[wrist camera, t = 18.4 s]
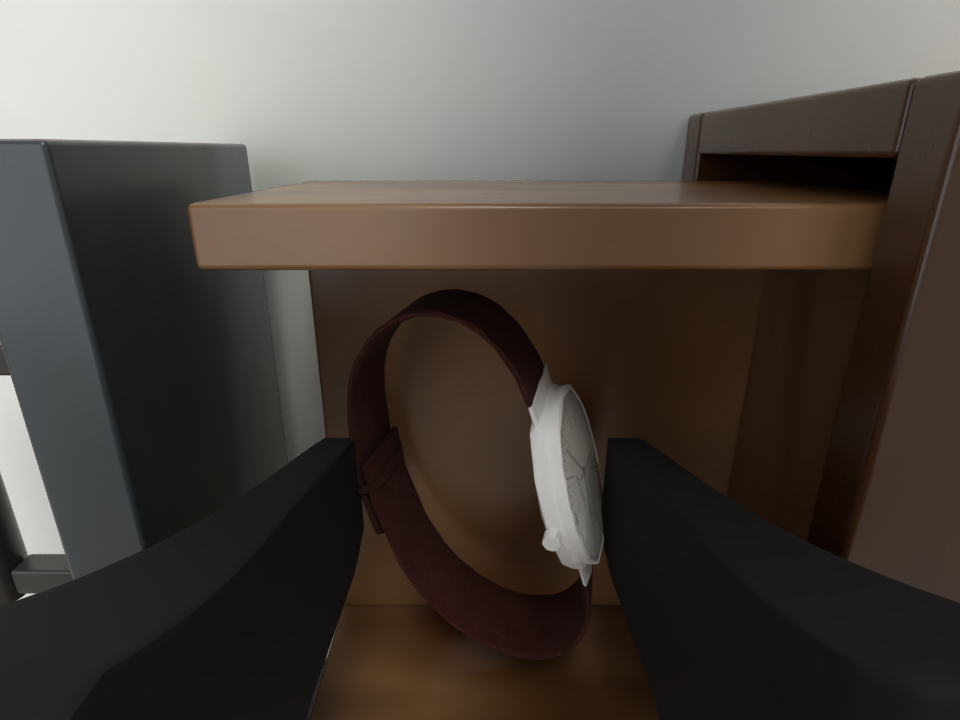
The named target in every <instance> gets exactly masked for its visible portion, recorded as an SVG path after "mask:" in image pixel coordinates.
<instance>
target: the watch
mask: <svg viewBox="0 0 960 720" xmlns="http://www.w3.org/2000/svg"><path fill="white" fill-rule="evenodd" d="M434 316H435V317H439V318H443V319H447V320H451V321H455V322H459V323H461V324H462V325H464V326H466V327H467V328H469V329H470V330H472V331H473V332H475V333H477V334H478V335H480V336H481V337H482V338H483V339H484V340H485V341H486V342H487V343H489V344H490V345H491V346H492V347H493V348H494V349H495V350H496V352H497V353H498V354H499V356H500V357H501V359H502V360H503V362H504V363H505V364H506V366H507V367H508V369H509V370H510V372H511V373H512V375H513V376H514V377H515V379H516V382H517V384H518V386H519V389H520V391H521V394H522V396H523V398H524V401H525V403H526V406H527V408H528V410H529V412H530V415H531V419H532V421H531V429H530V441H531V451H532V461H533V471H534V480H535V486H536V491H537V496H538V502H539V507H540V512H541V517H542V520H543V522H544V525H545V528H546V531H545V533H544V537H543V541H542V545H543V546H544V547H545V549H546V550H549V551H556V553H557V555H558V557H559V559H560V561H561V563H562V564H563V565H565V566H567V567H570V568H572V569H579V573H580V576H579V578H578V580H577V581H575V582H574V583H573V584H572V585H571V586H569V587H568V588H567V589H566V590H564V591H562V592H559V593H555V594H546V595H530V594H525V593H519V592H516V591H513V590H510V589H508V588H505V587H502V586H500V585H498V584H496V583H494V582H492V581H491V580H489V579H487V578H486V577H484V576H482V575H480V574H479V573H477V572H476V571H475V570H474V569H472V568H471V567H470V566H469V565H468V564H466V563H465V562H464V561H463V560H461V559H460V558H459V557H458V556H457V555H456V554H455V553H454V552H453V550H452V549H451V548H450V547H449V546H448V545H447V544H446V542H445V541H444V539H443V538H442V537H441V535H440V534H439V532H438V531H437V529H436V528H435V526H434V525H433V524H432V522H431V521H430V519H429V517H428V515H427V514H426V512H425V510H424V507H423V505H422V503H421V500H420V498H419V496H418V493H417V491H416V489H415V486H414V484H413V481H412V479H411V477H410V474H409V472H408V470H407V467H406V463H405V457H404V453H403V449H402V442H401V441H400V436H399V432H398V428H397V427H396V426H392V429H391V427H390V421H389V414H388V407H387V401H386V394H385V361H386V355H387V349H388V346H389V344H390V341H391V338H392V336H393V335H394V333H395V332H396V330H397V329H398V327H399V326H400V324H401V323H402V322H404V321H406V320H409V319H412V318H415V317H434ZM347 424H348V432H349V440H350V441H353V440H354V442H355V451H356V463H357V474H358V484H359V487H358V489H359V495H360V494H361V497H362V500H363V502H364V505H365V508H366V511H367V513H368V516H369V519H370V522H371V524H372V527H373V529H374V531H375V532H376V534H377V535H379V534H383V533H385V535H386V537H387V540H388V542H389V544H390V546H391V549H392V551H393V553H394V555H395V557H396V559H397V562H398V564H399V565H400V567H401V568H402V570H403V572H404V573H405V575H406V576H407V578H408V579H409V581H410V582H411V583H412V585H413V586H414V587H415V588H416V589H417V591H418V592H419V593H420V594H421V596H422V597H423V598H424V599H425V601H426V602H427V603H428V604H429V605H430V607H432V608H433V609H434V610H435V611H436V612H437V613H438V614H439V615H441V616H442V617H443V618H444V619H445V620H446V621H447V622H448V623H450V624H451V625H452V626H453V627H454V628H456V629H457V630H459V631H460V632H462V633H464V634H465V635H467V636H469V637H470V638H472V639H473V640H475V641H477V642H478V643H480V644H482V645H484V646H486V647H488V648H491V649H493V650H496V651H498V652H501V653H503V654H506V655H509V656H514V657H519V658H524V659H531V660H542V659H551V658H555V657H557V656H560V655H562V654H564V653H566V652H568V651H570V650H572V649H573V648H574V647H575V646H576V645H577V644H578V643H580V641H581V640H582V638H583V636H584V635H585V632H586V630H587V627H588V623H589V620H590V617H591V604H592V581H593V564H598V563H599V561H600V557H601V552H602V548H603V542H604V534H603V521H602V511H601V510H602V498H603V492H602V484H601V476H600V470H599V464H598V458H597V452H596V447H595V443H594V439H593V436H592V432H591V428H590V424H589V420H588V417H587V414H586V411H585V408H584V406H583V404H582V402H581V400H580V398H579V396H578V395H577V393H576V392H575V391H574V389H573V388H572V387H571V385H569V384H566V385H562V386H558V385H557V384H555V383H552V381H551V379H550V375H549V371H548V367H547V364H546V365H543V362H542V360H541V358H540V356H539V354H538V352H537V350H536V348H535V347H534V345H533V344H532V342H531V340H530V339H529V337H528V336H527V334H526V333H525V331H524V330H523V329H522V327H521V326H520V325H519V323H518V322H517V321H516V320H515V319H514V318H513V317H512V316H511V315H510V314H509V313H508V312H507V311H506V310H505V309H504V308H502V307H501V306H500V305H499V304H497V303H496V302H494V301H492V300H491V299H489V298H487V297H485V296H483V295H480V294H478V293H475V292H470V291H464V290H459V289H447V290H439V291H436V292H432V293H429V294H425V295H423V296H422V297H420V298H418V299H417V300H415V301H413V302H412V303H411V304H410V305H409V306H407V307H406V308H405V309H403V310H402V311H400V312H399V313H398V314H396V315H395V316H394V317H392V318H391V319H390V320H389V321H387V322H386V323H384V324H383V325H381V326H380V327H378V328H377V329H376V330H375V331H374V332H373V333H372V334H371V335H370V337H369V338H368V339H367V340H366V342H365V343H364V345H363V346H362V348H361V350H360V352H359V353H358V355H357V357H356V358H355V360H354V362H353V365H352V368H351V371H350V375H349V381H348V387H347Z"/></svg>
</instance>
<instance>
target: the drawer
mask: <svg viewBox="0 0 960 720" xmlns="http://www.w3.org/2000/svg"><path fill="white" fill-rule="evenodd" d="M889 191H890V190H888V189H877V188H867V187H857V186H847V185H836V184H826V183H816V182H806V181H308V182H303V183H299V184H293V185H288V186H282V187H277V188H272V189H266V190H261V191H255V192H252V187H251V180H250V172H249V165H248V157H247V150H246V146H245V145H243V144H219V143H178V142H138V141H97V140H56V139H0V375H11V378H12V381H13V384H14V388H15V391H16V394H17V397H18V401H19V404H20V407H21V410H22V414H23V417H24V420H25V424H26V427H27V430H28V433H29V437H30V440H31V443H32V446H33V450H34V453H35V456H36V460H37V463H38V466H39V469H40V473H41V476H42V479H43V482H44V486H45V489H46V492H47V496H48V499H49V502H50V505H51V509H52V512H53V515H54V518H55V522H56V525H57V528H58V532H59V535H60V538H61V541H62V545H63V548H64V551H65V554H31V555H29V556H28V554H27V551H26V548H25V545H24V542H23V539H22V536H21V533H20V530H19V527H18V524H17V521H16V518H15V515H14V512H13V509H12V506H11V503H10V500H9V497H8V494H7V491H6V488H5V485H4V482H3V479H2V476H1V473H0V606H3V605H6V604H9V603H11V602H14V601H16V600H18V599H19V598H21V597H22V596H24V595H25V594H26V593H40V592H43V591H46V590H48V589H51V588H54V587H56V586H59V585H62V584H64V583H67V582H70V581H72V580H75V579H77V578H80V577H82V576H85V575H87V574H90V573H92V572H94V571H97V570H99V569H101V568H104V567H106V566H108V565H110V564H113V563H115V562H117V561H120V560H122V559H124V558H126V557H129V556H131V555H133V554H135V553H138V552H140V551H142V550H145V549H147V548H149V547H151V546H153V545H155V544H157V543H159V542H161V541H163V540H165V539H167V538H169V537H171V536H173V535H175V534H177V533H179V532H180V531H182V530H184V529H186V528H188V527H190V526H192V525H194V524H195V523H197V522H199V521H201V520H203V519H204V518H206V517H208V516H209V515H211V514H213V513H215V512H216V511H218V510H219V509H221V508H222V507H224V506H226V505H227V504H229V503H230V502H232V501H233V500H235V499H237V498H238V497H240V496H241V495H243V494H244V493H246V492H247V491H249V490H251V489H252V488H254V487H255V486H257V485H258V484H260V483H261V482H263V481H264V480H265V479H267V478H268V477H270V476H271V475H273V474H274V473H275V472H277V471H278V470H280V469H281V468H282V467H284V466H285V465H287V464H288V459H287V451H286V444H285V436H284V429H283V421H282V414H281V406H280V399H279V391H278V383H277V376H276V368H275V361H274V353H273V346H272V338H271V331H270V323H269V316H268V308H267V301H266V293H265V285H264V278H263V270H309V280H310V289H311V299H312V308H313V318H314V327H315V337H316V346H317V356H318V366H319V375H320V385H321V394H322V404H323V413H324V423H325V433H326V438H349V432H348V424H347V387H348V381H349V375H350V371H351V368H352V365H353V362H354V360H355V358H356V357H357V355H358V353H359V352H360V350H361V348H362V346H363V345H364V343H365V342H366V340H367V339H368V338H369V337H370V335H371V334H372V333H373V332H374V331H375V330H376V329H377V328H378V327H380V326H381V325H383V324H384V323H386V322H387V321H389V320H390V319H391V318H392V317H394V316H395V315H396V314H398V313H399V312H400V311H402V310H403V309H405V308H406V307H407V306H409V305H410V304H411V303H412V302H413V301H415V300H417V299H418V298H420V297H422V296H423V295H425V294H429V293H432V292H436V291H439V290H447V289H459V290H464V291H470V292H475V293H478V294H480V295H483V296H485V297H487V298H489V299H491V300H492V301H494V302H496V303H497V304H499V305H500V306H501V307H502V308H504V309H505V310H506V311H507V312H508V313H509V314H510V315H511V316H512V317H513V318H514V319H515V320H516V321H517V322H518V323H519V325H520V326H521V327H522V329H523V330H524V331H525V333H526V334H527V336H528V337H529V339H530V340H531V342H532V344H533V345H534V347H535V348H536V350H537V352H538V354H539V356H540V358H541V360H542V362H543V365H546V364H547V367H548V371H549V375H550V379H551V381H552V383H555V384H557V385H558V386H562V385H566V384H569V385H571V387H572V388H573V389H574V391H575V392H576V393H577V395H578V396H579V398H580V400H581V402H582V404H583V406H584V408H585V411H586V414H587V417H588V420H589V424H590V428H591V432H592V436H593V439H594V443H595V447H596V452H597V458H598V464H599V470H600V476H601V484H602V492H603V487H604V475H605V464H606V452H607V441H608V438H640V439H642V440H644V441H646V442H647V443H649V444H650V445H652V446H653V447H655V448H656V449H658V450H659V451H661V452H662V453H663V454H665V455H666V456H668V457H669V458H670V459H672V460H673V461H675V462H676V463H678V464H679V465H680V466H682V467H683V468H685V469H686V470H687V471H689V472H690V473H692V474H693V475H695V476H696V477H698V478H699V479H700V480H702V481H703V482H705V483H706V484H708V485H709V486H711V487H712V488H714V489H715V490H717V491H718V492H720V493H722V494H723V495H725V496H726V497H728V498H729V499H731V500H733V501H734V502H736V503H738V504H739V505H741V506H743V507H744V508H746V509H748V510H749V511H751V512H753V513H754V514H756V515H757V516H759V517H761V518H763V519H765V520H766V521H768V522H770V523H772V524H774V525H775V526H777V527H779V528H781V529H783V530H785V531H787V532H789V533H791V534H793V535H795V536H797V537H799V538H801V539H803V540H805V541H806V539H807V535H808V531H809V527H810V523H811V518H812V514H813V510H814V506H815V502H816V497H817V493H818V489H819V485H820V481H821V476H822V472H823V468H824V464H825V460H826V455H827V451H828V447H829V443H830V439H831V434H832V430H833V426H834V422H835V418H836V413H837V409H838V405H839V401H840V397H841V392H842V388H843V384H844V380H845V376H846V371H847V367H848V363H849V359H850V355H851V350H852V346H853V342H854V338H855V334H856V329H857V325H858V321H859V317H860V313H861V308H862V304H863V300H864V296H865V292H866V287H867V283H868V279H869V275H870V271H871V266H872V262H873V258H874V254H875V250H876V245H877V241H878V237H879V233H880V229H881V224H882V220H883V216H884V212H885V208H886V203H887V199H888V195H889ZM385 394H386V401H387V407H388V414H389V421H390V427H391V429H392V426H396V427H397V428H398V432H399V436H400V441H401V442H402V449H403V453H404V457H405V463H406V467H407V470H408V472H409V474H410V477H411V479H412V481H413V484H414V486H415V489H416V491H417V493H418V496H419V498H420V500H421V503H422V505H423V507H424V510H425V512H426V514H427V515H428V517H429V519H430V521H431V522H432V524H433V525H434V526H435V528H436V529H437V531H438V532H439V534H440V535H441V537H442V538H443V539H444V541H445V542H446V544H447V545H448V546H449V547H450V548H451V549H452V550H453V552H454V553H455V554H456V555H457V556H458V557H459V558H460V559H461V560H463V561H464V562H465V563H466V564H468V565H469V566H470V567H471V568H472V569H474V570H475V571H476V572H477V573H479V574H480V575H482V576H484V577H486V578H487V579H489V580H491V581H492V582H494V583H496V584H498V585H500V586H502V587H505V588H508V589H510V590H513V591H516V592H519V593H525V594H530V595H546V594H555V593H559V592H562V591H564V590H566V589H567V588H568V587H569V586H571V585H572V584H573V583H574V582H575V581H577V580H578V578H579V576H580V573H579V569H572V568H570V567H567V566H565V565H563V564H562V563H561V561H560V559H559V557H558V555H557V553H556V551H549V550H546V549H545V547H544V546H543V545H542V541H543V537H544V533H545V531H546V528H545V525H544V522H543V520H542V517H541V512H540V507H539V502H538V496H537V491H536V486H535V480H534V471H533V461H532V451H531V441H530V429H531V421H532V419H531V415H530V412H529V410H528V408H527V406H526V403H525V401H524V398H523V396H522V394H521V391H520V389H519V386H518V384H517V382H516V379H515V377H514V376H513V375H512V373H511V372H510V370H509V369H508V367H507V366H506V364H505V363H504V362H503V360H502V359H501V357H500V356H499V354H498V353H497V352H496V350H495V349H494V348H493V347H492V346H491V345H490V344H489V343H487V342H486V341H485V340H484V339H483V338H482V337H481V336H480V335H478V334H477V333H475V332H473V331H472V330H470V329H469V328H467V327H466V326H464V325H462V324H461V323H459V322H455V321H451V320H447V319H443V318H439V317H435V316H434V317H415V318H412V319H409V320H406V321H404V322H402V323H401V324H400V326H399V327H398V329H397V330H396V332H395V333H394V335H393V336H392V338H391V341H390V344H389V346H388V349H387V355H386V361H385ZM362 507H363V519H364V531H363V536H362V541H361V546H360V551H359V556H358V561H357V565H356V570H355V574H354V577H353V580H352V583H351V586H350V589H349V592H348V595H347V598H346V601H345V604H344V607H343V610H342V613H341V615H340V618H339V621H338V625H337V628H336V631H335V635H334V638H333V641H332V645H331V648H330V651H329V655H328V658H327V661H326V665H325V668H324V671H323V674H322V678H321V681H320V684H319V688H318V691H317V694H316V698H315V701H314V704H313V708H312V711H311V714H310V718H309V720H659V717H658V713H657V709H656V706H655V702H654V699H653V696H652V693H651V690H650V686H649V683H648V680H647V677H646V674H645V672H644V669H643V666H642V663H641V660H640V658H639V655H638V652H637V649H636V646H635V644H634V641H633V638H632V635H631V632H630V630H629V627H628V624H627V621H626V619H625V616H624V613H623V610H622V607H621V604H620V602H619V599H618V596H617V593H616V590H615V587H614V584H613V581H612V579H611V576H610V572H609V568H608V563H607V559H606V554H605V550H604V545H603V548H602V552H601V557H600V561H599V563H598V564H593V581H592V604H591V617H590V620H589V623H588V627H587V630H586V632H585V635H584V636H583V638H582V640H581V641H580V643H578V644H577V645H576V646H575V647H574V648H573V649H572V650H570V651H568V652H566V653H564V654H562V655H560V656H557V657H555V658H551V659H542V660H531V659H524V658H519V657H514V656H509V655H506V654H503V653H501V652H498V651H496V650H493V649H491V648H488V647H486V646H484V645H482V644H480V643H478V642H477V641H475V640H473V639H472V638H470V637H469V636H467V635H465V634H464V633H462V632H460V631H459V630H457V629H456V628H454V627H453V626H452V625H451V624H450V623H448V622H447V621H446V620H445V619H444V618H443V617H442V616H441V615H439V614H438V613H437V612H436V611H435V610H434V609H433V608H432V607H430V605H429V604H428V603H427V602H426V601H425V599H424V598H423V597H422V596H421V594H420V593H419V592H418V591H417V589H416V588H415V587H414V586H413V585H412V583H411V582H410V581H409V579H408V578H407V576H406V575H405V573H404V572H403V570H402V568H401V567H400V565H399V564H398V562H397V559H396V557H395V555H394V553H393V551H392V549H391V546H390V544H389V542H388V540H387V537H386V535H385V533H383V534H379V535H377V534H376V532H375V531H374V529H373V527H372V524H371V522H370V519H369V516H368V513H367V511H366V508H365V505H364V502H363V500H362Z"/></svg>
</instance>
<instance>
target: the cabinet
mask: <svg viewBox="0 0 960 720" xmlns="http://www.w3.org/2000/svg"><path fill="white" fill-rule="evenodd" d="M682 181H806V182H816V183H826V184H836V185H847V186H857V187H867V188H877V189H888V190H890V191H889V195H888V199H887V203H886V208H885V212H884V216H883V220H882V224H881V229H880V233H879V237H878V241H877V245H876V250H875V254H874V258H873V262H872V266H871V271H870V275H869V279H868V283H867V287H866V292H865V296H864V300H863V304H862V308H861V313H860V317H859V321H858V325H857V329H856V334H855V338H854V342H853V346H852V350H851V355H850V359H849V363H848V367H847V371H846V376H845V380H844V384H843V388H842V392H841V397H840V401H839V405H838V409H837V413H836V418H835V422H834V426H833V430H832V434H831V439H830V443H829V447H828V451H827V455H826V460H825V464H824V468H823V472H822V476H821V481H820V485H819V489H818V493H817V497H816V502H815V506H814V510H813V514H812V518H811V523H810V527H809V531H808V535H807V539H806V541H807V542H809V543H811V544H813V545H815V546H817V547H819V548H821V549H823V550H825V551H828V552H830V553H832V554H834V555H836V556H839V557H841V558H843V559H846V560H848V561H850V562H853V563H855V564H858V565H860V566H862V567H865V568H867V569H869V570H872V571H874V572H877V573H879V574H881V575H884V576H886V577H889V578H892V579H894V580H897V581H900V582H902V583H905V584H908V585H910V586H913V587H916V588H918V589H921V590H924V591H927V592H930V593H932V594H935V595H938V596H941V597H944V598H947V599H950V600H953V601H956V602H959V603H960V71H955V72H949V73H943V74H937V75H931V76H927V77H924V78H912V79H906V80H900V81H894V82H888V83H882V84H876V85H869V86H863V87H857V88H851V89H845V90H839V91H833V92H827V93H821V94H815V95H809V96H803V97H797V98H791V99H785V100H779V101H773V102H767V103H761V104H755V105H749V106H742V107H736V108H730V109H724V110H718V111H712V112H707V113H700V114H694V115H692V116H691V117H690V119H689V126H688V134H687V143H686V151H685V160H684V168H683V177H682Z"/></svg>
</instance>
